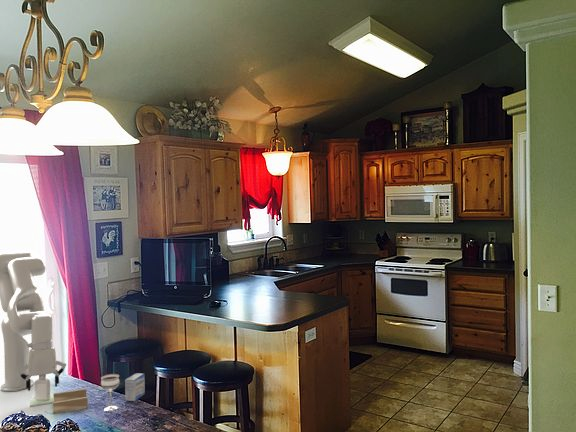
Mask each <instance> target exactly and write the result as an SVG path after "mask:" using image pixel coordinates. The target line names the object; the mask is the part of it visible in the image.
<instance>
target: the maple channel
mask: <svg viewBox="0 0 576 432" xmlns="http://www.w3.org/2000/svg"><path fill="white" fill-rule="evenodd" d="M87 391H88V389H87V388H81V389H80V388H79V389H73V390H66V391H61V392H55V393H53V394H54V402H53V403H52V414H53V415H55V414H56V415H57V414H61V413H66V412H68V413H69V412H73V411H74V412H75V411H77V410H83V409H84V410H85V409H88V403H89V402H88V398H89V397H88V396H87V395H88V393H87Z"/></svg>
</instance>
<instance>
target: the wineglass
mask: <svg viewBox="0 0 576 432" xmlns="http://www.w3.org/2000/svg"><path fill="white" fill-rule="evenodd" d="M119 377H120V375H119V374H117V373H110V374H105V375H103V376H101V377H100V379H101V381H100V387H101V388H102V389H103V390H104V391H107V392H108V395H109V396H108V397H109V405H107V406H106V407H104V408H103V410H104V411H106V412H107V411H108V412H110V411H115V410H117V409H118V406H117V405H112V392H113V391H114V390H116V389H117V388H118V387H119V385H120V379H119Z"/></svg>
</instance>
